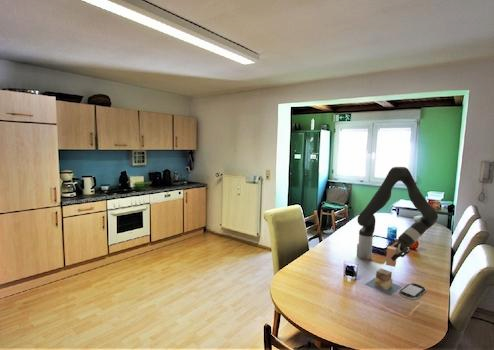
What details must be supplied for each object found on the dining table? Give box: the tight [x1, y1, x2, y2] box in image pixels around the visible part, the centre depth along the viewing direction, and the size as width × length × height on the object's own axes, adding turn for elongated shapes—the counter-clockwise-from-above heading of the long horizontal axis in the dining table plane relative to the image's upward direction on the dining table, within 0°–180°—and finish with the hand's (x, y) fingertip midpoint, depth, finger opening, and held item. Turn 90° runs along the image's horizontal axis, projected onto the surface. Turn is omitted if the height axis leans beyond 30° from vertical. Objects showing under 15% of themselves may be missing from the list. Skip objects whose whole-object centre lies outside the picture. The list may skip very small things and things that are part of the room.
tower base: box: [374, 276, 393, 290], centre depth 159 cm, size 7×7×4 cm
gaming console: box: [398, 283, 427, 300], centre depth 153 cm, size 19×9×2 cm, turn 129°
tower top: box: [375, 268, 393, 282], centre depth 159 cm, size 6×6×4 cm
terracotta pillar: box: [385, 245, 397, 268], centre depth 158 cm, size 5×5×10 cm
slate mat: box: [364, 277, 403, 296], centre depth 159 cm, size 15×15×1 cm
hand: (388, 257), depth 158 cm, fingers closed on terracotta pillar, 6 cm apart
